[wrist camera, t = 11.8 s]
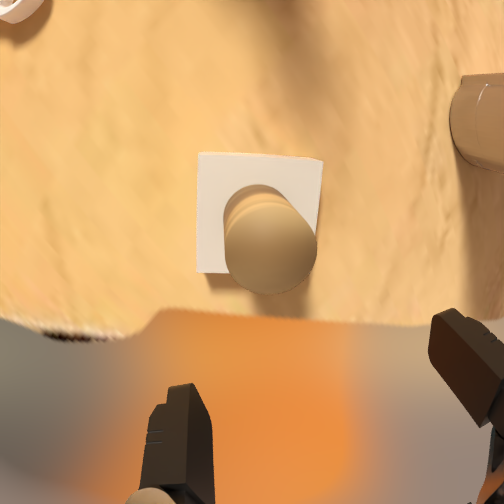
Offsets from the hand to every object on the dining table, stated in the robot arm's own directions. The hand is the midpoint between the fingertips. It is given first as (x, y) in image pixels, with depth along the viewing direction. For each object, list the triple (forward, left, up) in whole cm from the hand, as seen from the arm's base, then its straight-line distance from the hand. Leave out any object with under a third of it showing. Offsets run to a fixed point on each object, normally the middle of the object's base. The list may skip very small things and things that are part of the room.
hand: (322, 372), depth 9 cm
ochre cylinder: (-1, 0, -16) cm, 16 cm away
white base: (-1, 0, -19) cm, 19 cm away
